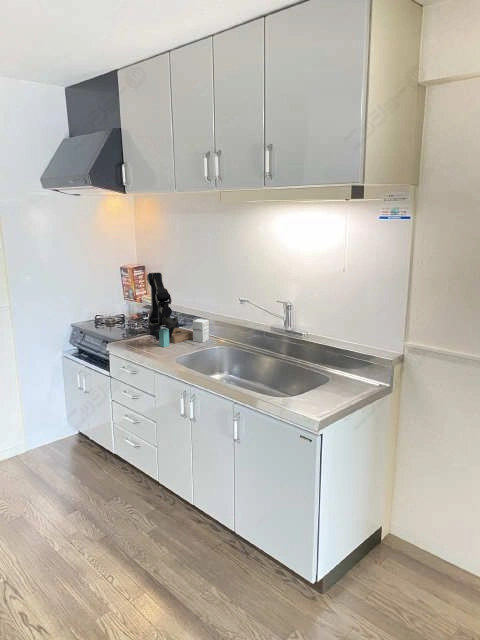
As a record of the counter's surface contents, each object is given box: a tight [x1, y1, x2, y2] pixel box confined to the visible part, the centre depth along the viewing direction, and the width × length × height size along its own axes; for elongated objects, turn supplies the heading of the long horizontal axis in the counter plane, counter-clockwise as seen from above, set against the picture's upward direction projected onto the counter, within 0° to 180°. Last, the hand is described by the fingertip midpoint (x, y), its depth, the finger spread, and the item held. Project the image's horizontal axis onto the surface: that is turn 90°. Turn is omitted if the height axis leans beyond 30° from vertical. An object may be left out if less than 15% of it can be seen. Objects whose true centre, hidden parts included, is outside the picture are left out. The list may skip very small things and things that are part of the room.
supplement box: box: [192, 318, 210, 343], centre depth 289 cm, size 7×7×13 cm
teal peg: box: [158, 327, 170, 348], centre depth 279 cm, size 4×4×10 cm
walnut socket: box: [169, 327, 193, 344], centre depth 295 cm, size 16×16×4 cm
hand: (164, 339), depth 279 cm, fingers open, 9 cm apart
